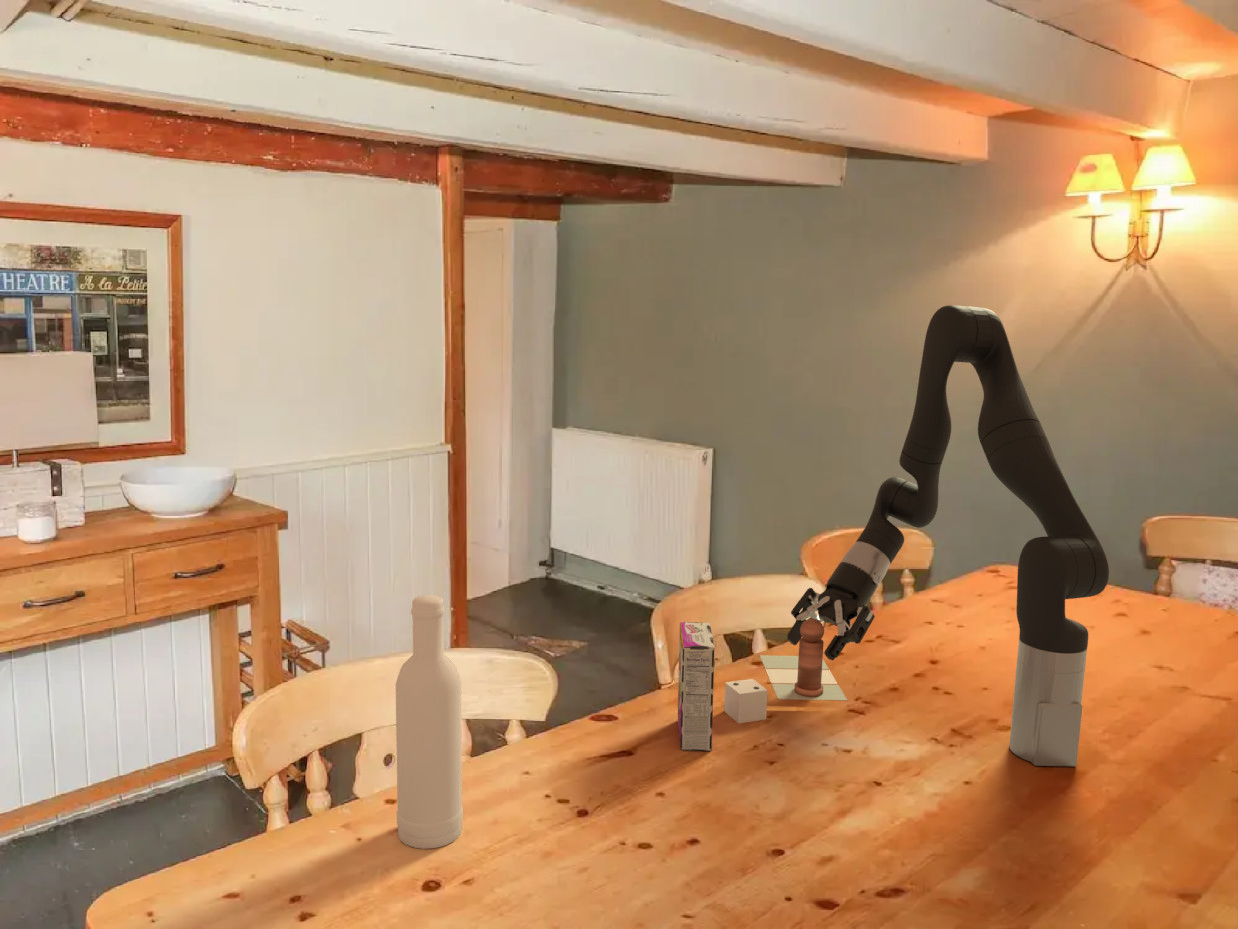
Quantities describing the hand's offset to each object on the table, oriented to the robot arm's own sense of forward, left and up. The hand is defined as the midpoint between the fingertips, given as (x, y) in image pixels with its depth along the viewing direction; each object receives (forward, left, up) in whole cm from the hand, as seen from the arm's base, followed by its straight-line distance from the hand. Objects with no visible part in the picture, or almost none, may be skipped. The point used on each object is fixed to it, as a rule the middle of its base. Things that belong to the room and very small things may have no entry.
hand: (809, 649), depth 165 cm
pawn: (0, 0, -8) cm, 8 cm away
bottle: (-45, +56, -8) cm, 72 cm away
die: (-8, +12, -8) cm, 16 cm away
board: (+7, 0, -8) cm, 11 cm away
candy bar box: (-16, +21, -9) cm, 27 cm away
